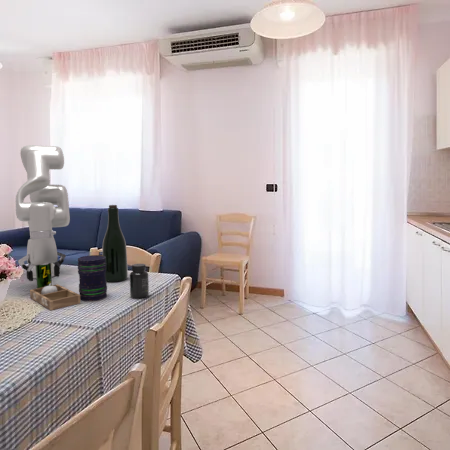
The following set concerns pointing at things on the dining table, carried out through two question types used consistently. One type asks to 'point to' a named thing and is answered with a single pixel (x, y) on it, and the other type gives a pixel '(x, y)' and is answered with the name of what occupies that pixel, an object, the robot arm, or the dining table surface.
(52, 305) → the slot rack
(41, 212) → the robot arm
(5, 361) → the dining table surface
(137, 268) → the supplement bottle
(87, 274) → the storage jar
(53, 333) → the dining table surface
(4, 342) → the dining table surface
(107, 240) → the wine bottle
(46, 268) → the beer can
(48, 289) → the garlic
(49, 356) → the dining table surface
